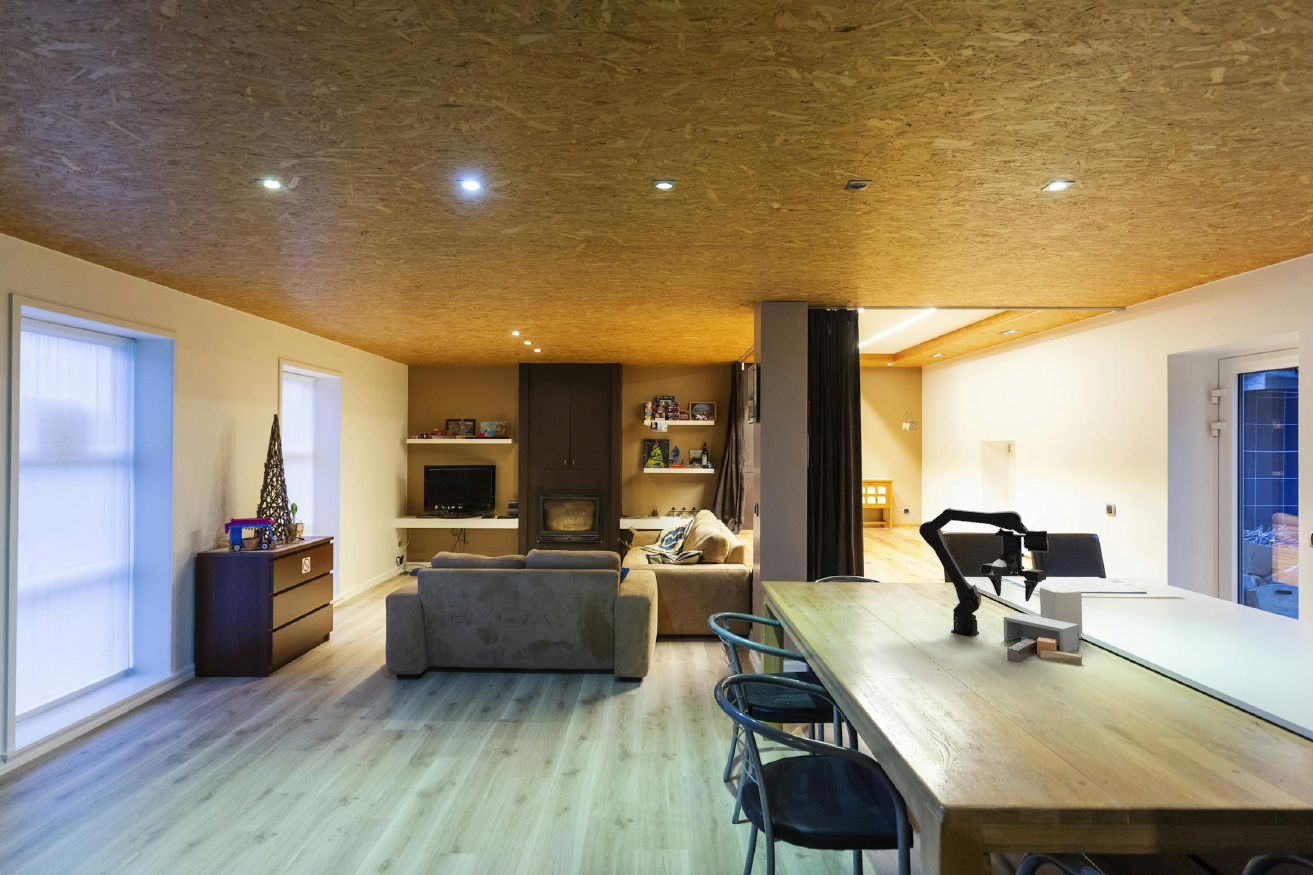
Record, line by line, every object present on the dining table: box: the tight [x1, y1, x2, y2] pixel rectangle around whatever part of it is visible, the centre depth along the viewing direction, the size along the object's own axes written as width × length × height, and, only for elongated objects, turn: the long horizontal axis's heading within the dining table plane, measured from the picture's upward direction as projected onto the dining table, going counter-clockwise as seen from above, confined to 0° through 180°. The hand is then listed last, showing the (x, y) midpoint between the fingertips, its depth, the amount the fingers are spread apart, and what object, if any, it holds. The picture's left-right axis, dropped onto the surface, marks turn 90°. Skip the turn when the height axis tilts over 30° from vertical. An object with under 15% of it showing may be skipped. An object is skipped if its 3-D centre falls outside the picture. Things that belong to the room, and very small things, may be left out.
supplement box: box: [1039, 586, 1083, 639], centre depth 217 cm, size 9×9×15 cm
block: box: [1036, 637, 1058, 657], centre depth 196 cm, size 4×4×4 cm
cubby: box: [1003, 612, 1080, 653], centre depth 206 cm, size 18×10×8 cm, turn 33°
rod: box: [1040, 649, 1083, 666], centre depth 190 cm, size 2×10×2 cm, turn 52°
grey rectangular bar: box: [1006, 636, 1038, 663], centre depth 196 cm, size 18×7×4 cm, turn 131°
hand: (1012, 598), depth 213 cm, fingers open, 9 cm apart
